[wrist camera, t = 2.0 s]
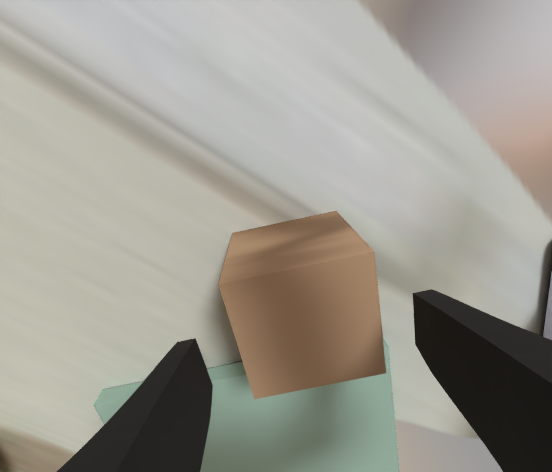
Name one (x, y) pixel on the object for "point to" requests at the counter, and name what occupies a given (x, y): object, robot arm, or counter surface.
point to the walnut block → (303, 304)
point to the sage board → (292, 425)
